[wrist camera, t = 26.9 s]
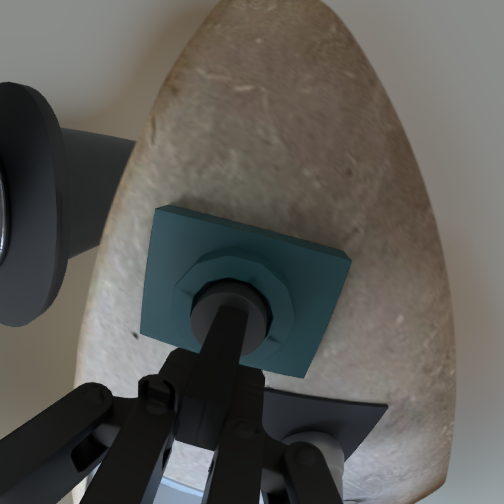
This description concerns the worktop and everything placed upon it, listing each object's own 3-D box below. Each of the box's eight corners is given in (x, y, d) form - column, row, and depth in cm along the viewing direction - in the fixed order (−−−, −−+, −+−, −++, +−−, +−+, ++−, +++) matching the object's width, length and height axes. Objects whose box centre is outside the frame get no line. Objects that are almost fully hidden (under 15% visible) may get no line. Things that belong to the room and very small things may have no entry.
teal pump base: (150, 319, 21) (128, 347, 17) (168, 204, 18) (142, 212, 14) (301, 361, 21) (305, 395, 17) (343, 251, 18) (360, 270, 14)
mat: (233, 458, 25) (233, 460, 24) (264, 387, 22) (264, 390, 21) (334, 470, 25) (335, 472, 24) (387, 404, 21) (388, 407, 21)
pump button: (194, 329, 17) (185, 346, 15) (206, 270, 16) (196, 283, 14) (257, 346, 17) (254, 365, 15) (275, 288, 16) (275, 304, 14)
